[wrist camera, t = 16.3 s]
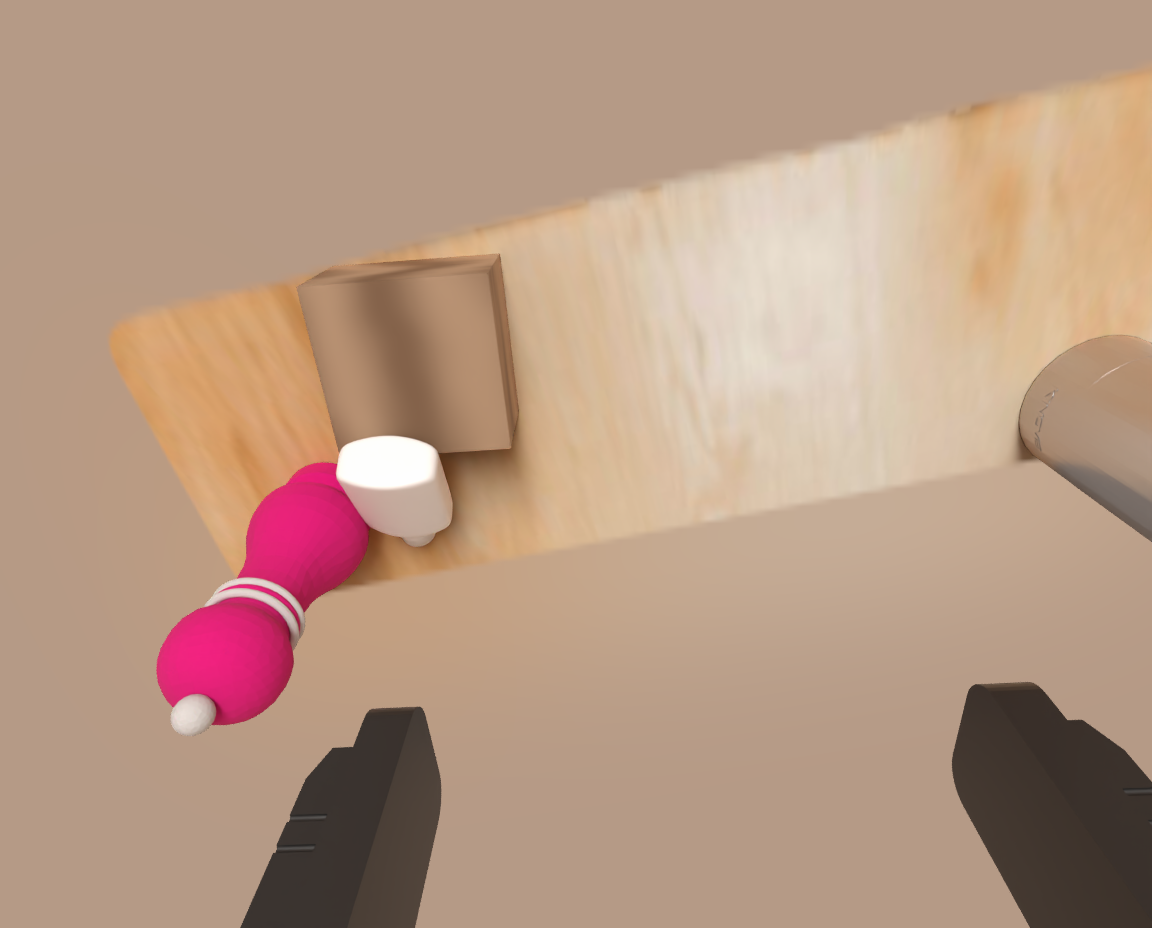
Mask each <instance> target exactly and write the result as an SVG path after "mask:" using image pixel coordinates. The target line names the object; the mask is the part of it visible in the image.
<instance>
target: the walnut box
mask: <svg viewBox="0 0 1152 928" xmlns="http://www.w3.org/2000/svg"><path fill="white" fill-rule="evenodd" d="M296 288H297V292H298V295H299V299H300V303H301V307H302V311H303V315H304V319H305V323H306V326H307V330H308V334H309V338H310V342H311V346H312V350H313V354H314V357H315V361H316V365H317V369H318V373H319V377H320V381H321V385H322V388H323V392H324V396H325V400H326V404H327V408H328V412H329V416H330V419H331V423H332V427H333V431H334V435H335V439H336V443H337V446H338V450H339V454H340V451H341V449H342V448H343V447H344V446H345V445H346V444H349V443H351V442H354V441H357V440H361V439H365V438H369V437H376V436H401V437H407V438H412V439H416V440H419V441H422V442H425V443H427V444H429V445H431V446H433V447H434V448H435V449H436V450H437V452H438V453H451V452H466V451H482V450H497V449H511V445H512V441H513V436H514V431H515V426H516V422H517V417H518V412H519V409H518V400H517V392H516V384H515V376H514V367H513V359H512V351H511V342H510V334H509V326H508V318H507V309H506V301H505V293H504V284H503V276H502V268H501V260H500V254H488V255H475V256H462V257H449V258H436V259H422V260H409V261H396V262H383V263H370V264H357V265H344V266H341V265H334V266H332V267H331V268H329V269H327V270H325V271H324V272H322V273H320V274H318V275H317V276H315V277H313V278H312V279H310V280H308V281H306V282H305V283H303V284H301V285H299V286H298V287H296Z"/></svg>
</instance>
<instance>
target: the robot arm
mask: <svg viewBox="0 0 1152 928" xmlns="http://www.w3.org/2000/svg"><path fill="white" fill-rule="evenodd" d="M1019 424H1020V433H1021V437H1022V439H1023V441H1024V444H1025V446H1026V447H1027V448H1028V450H1029V451H1030V452H1031V453H1032V454H1033V455H1034V456H1035V457H1037V458H1038V459H1039V460H1041V461H1042V462H1044V463H1045V464H1046V465H1048V466H1049V467H1050V468H1052V469H1053V470H1054V471H1056V472H1057V473H1058V474H1060V475H1061V476H1062V477H1064V478H1065V479H1067V480H1068V481H1069V482H1071V483H1072V484H1073V485H1074V486H1076V487H1077V488H1078V489H1080V490H1081V491H1082V492H1084V493H1085V494H1087V495H1088V496H1089V497H1091V498H1092V499H1094V500H1095V501H1096V502H1098V503H1099V504H1100V505H1102V506H1103V507H1104V508H1106V509H1107V510H1109V511H1110V512H1111V513H1113V514H1114V515H1115V516H1117V517H1118V518H1120V519H1121V520H1122V521H1124V522H1125V523H1126V524H1128V525H1129V526H1131V527H1132V528H1133V529H1135V530H1136V531H1137V532H1139V533H1140V534H1141V535H1143V536H1144V537H1146V538H1147V539H1149V540H1150V541H1151V542H1152V343H1150V342H1147V341H1145V340H1142V339H1140V338H1137V337H1131V336H1125V335H1117V336H1105V337H1101V338H1096V339H1092V340H1089V341H1087V342H1084V343H1082V344H1080V345H1077V346H1075V347H1073V348H1071V349H1070V350H1068V351H1067V352H1065V353H1063V354H1062V355H1060V356H1059V357H1057V358H1056V359H1055V360H1054V361H1053V362H1052V363H1051V364H1049V365H1048V366H1047V367H1046V368H1045V369H1044V370H1043V371H1042V372H1041V374H1040V375H1039V376H1038V377H1037V378H1036V380H1035V381H1034V382H1033V384H1032V386H1031V387H1030V389H1029V391H1028V392H1027V394H1026V396H1025V399H1024V402H1023V405H1022V407H1021V413H1020V420H1019ZM952 771H953V778H954V782H955V786H956V789H957V792H958V795H959V797H960V800H961V802H962V804H963V806H964V808H965V810H966V811H967V813H968V815H969V817H970V819H971V821H972V822H973V824H974V826H975V828H976V830H977V832H978V834H979V835H980V837H981V839H982V841H983V843H984V845H985V846H986V848H987V850H988V852H989V854H990V855H991V857H992V859H993V861H994V863H995V865H996V866H997V868H998V870H999V872H1000V873H1001V875H1002V877H1003V879H1004V881H1005V883H1006V885H1007V886H1008V888H1009V890H1010V892H1011V894H1012V896H1013V897H1014V899H1015V901H1016V903H1017V905H1018V907H1019V908H1020V910H1021V912H1022V914H1023V916H1024V917H1025V919H1026V921H1027V923H1028V925H1029V926H1030V928H1152V782H1151V781H1150V779H1149V778H1148V777H1147V776H1146V775H1145V774H1144V772H1143V771H1142V770H1141V769H1140V768H1139V767H1138V765H1137V764H1136V763H1135V762H1134V761H1133V760H1132V758H1131V757H1130V756H1129V755H1128V754H1127V753H1126V751H1125V750H1123V749H1122V748H1121V747H1119V746H1118V745H1116V744H1115V743H1114V742H1112V741H1111V740H1110V739H1108V738H1107V737H1105V736H1104V735H1103V734H1101V733H1100V732H1098V731H1097V730H1096V729H1094V728H1093V727H1092V726H1090V725H1089V724H1087V723H1086V722H1085V721H1083V720H1067V719H1066V718H1065V717H1064V716H1063V714H1062V713H1061V712H1060V711H1059V709H1058V708H1057V707H1056V706H1055V704H1054V703H1053V702H1052V701H1051V700H1050V698H1049V697H1048V696H1047V695H1046V693H1045V692H1044V691H1043V690H1042V689H1041V688H1040V687H1039V686H1037V685H1035V684H1034V683H1031V682H1021V683H999V684H975V685H973V686H972V687H971V688H970V689H969V691H968V694H967V698H966V703H965V706H964V711H963V715H962V719H961V723H960V728H959V732H958V735H957V740H956V744H955V749H954V752H953V758H952ZM440 806H441V780H440V774H439V769H438V765H437V761H436V757H435V753H434V749H433V745H432V740H431V736H430V733H429V729H428V724H427V721H426V716H425V713H424V711H423V709H422V708H421V707H402V708H379V709H371V710H369V712H368V713H367V714H366V716H365V718H364V720H363V723H362V726H361V728H360V731H359V733H358V736H357V739H356V741H355V744H354V746H353V747H344V748H332V750H331V751H330V752H329V753H328V754H327V755H326V756H325V758H324V759H323V760H322V761H321V762H320V763H319V764H318V766H317V767H316V768H315V769H314V770H313V771H312V772H311V774H310V775H309V776H308V777H307V778H306V780H305V782H304V784H303V786H302V789H301V791H300V793H299V795H298V798H297V800H296V802H295V805H294V807H293V809H292V811H291V814H290V821H289V822H287V823H286V825H285V828H284V830H283V832H282V834H281V836H280V839H279V841H278V843H277V850H276V853H273V855H272V857H271V859H270V861H269V864H268V866H267V868H266V871H265V873H264V875H263V878H262V880H261V882H260V884H259V887H258V889H257V891H256V894H255V896H254V898H253V900H252V902H251V905H250V907H249V909H248V912H247V914H246V916H245V918H244V921H243V923H242V925H241V928H415V925H416V920H417V916H418V910H419V907H420V902H421V897H422V893H423V888H424V883H425V879H426V874H427V870H428V866H429V861H430V857H431V852H432V848H433V842H434V838H435V834H436V830H437V825H438V820H439V815H440Z"/></svg>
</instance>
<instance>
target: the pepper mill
mask: <svg viewBox="0 0 1152 928" xmlns="http://www.w3.org/2000/svg"><path fill="white" fill-rule="evenodd" d="M336 470H337V464H334V463H314V464H311V465H308V466H305V467H304V468H302V469H300V470H298V471H297V472H296V473H295V474H294V475H293V476H292V478H291V479H290V480H289V481H288V483H287V484H286V485H285V486H282V487H280V488H278V489H276V490H274V491H273V492H271V493H270V494H269V495H268V496H266V497H265V498H264V500H263V501H262V502H261V503H260V505H259V506H258V508H257V509H256V511H255V512H254V514H253V516H252V518H251V520H250V524H249V528H248V531H247V537H246V560H245V564H244V567H243V568H242V570H241V572H240V574H239V575H238V577H237V579H234V580H231V581H228V582H226V583H224V584H223V585H222V586H220V587H219V588H218V589H217V590H216V591H215V592H214V594H213V596H212V598H210V599H209V600H208V602H207V603H206V604H205V606H204V607H203V608H200V609H197V610H195V611H194V612H192V613H191V614H189V615H187V616H186V617H184V618H182V620H181V621H180V622H179V623H178V624H177V625H176V626H175V627H174V628H173V629H172V630H171V632H170V633H169V635H168V636H167V638H166V640H165V642H164V643H163V645H162V647H161V649H160V652H159V656H158V659H157V679H158V684H159V686H160V689H161V691H162V693H163V695H164V697H165V698H166V700H167V701H168V702H169V703H170V704H171V706H172V707H174V708H173V711H172V713H171V724H172V726H173V728H174V729H175V730H176V731H177V732H178V733H180V734H182V735H186V736H195V735H197V734H201V733H202V732H204V731H205V730H207V729H208V728H209V727H210V726H211V725H229V724H235V723H239V722H244V721H247V720H249V719H251V718H253V717H255V716H257V715H258V714H260V713H262V712H263V711H264V710H266V709H267V708H268V707H269V706H270V705H272V704H273V703H274V702H275V701H276V699H277V698H278V696H279V695H280V694H281V692H282V691H283V690H284V688H285V687H286V685H287V683H288V681H289V678H290V676H291V672H292V668H293V664H294V658H293V650H294V649H295V647H296V645H297V642H298V640H299V639H300V638H301V636H302V634H303V632H304V628H305V616H304V612H305V611H306V610H307V608H308V607H309V605H310V604H311V603H312V602H313V601H314V600H315V599H316V598H318V597H319V596H321V595H323V594H324V593H326V592H328V591H330V590H332V589H334V588H335V587H337V586H338V585H340V584H341V583H342V582H344V581H345V580H346V579H347V578H348V577H349V576H350V575H351V574H352V573H353V572H354V571H355V570H356V568H357V567H358V565H359V564H360V562H361V561H362V559H363V557H364V555H365V553H366V550H367V546H368V531H369V529H370V526H369V525H368V524H367V523H366V522H365V521H364V520H363V518H362V517H361V515H360V514H359V512H358V511H357V509H356V508H355V506H354V505H353V503H352V502H351V500H350V499H349V497H348V496H347V494H346V492H345V491H344V489H343V488H342V486H341V485H340V483H339V482H338V480H337V477H336Z"/></svg>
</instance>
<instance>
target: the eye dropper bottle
mask: <svg viewBox="0 0 1152 928" xmlns="http://www.w3.org/2000/svg"><path fill="white" fill-rule="evenodd" d="M336 477H337V480H338V482H339V483H340V485H341V486H342V488H343V489H344V491H345V492H346V494H347V496H348V497H349V499H350V500H351V502H352V503H353V505H354V506H355V508H356V509H357V511H358V512H359V514H360V515H361V517H362V518H363V520H364V521H365V522H366V523H367V524H368V525H369V526H370V527H371V528H373V529H375V530H377V531H379V532H382V533H385V534H388V535H392V536H396V537H402V538H403V540H404V541H405V542H406V543H407V544H408V545H411V546H414V547H419V546H420V547H421V546H424V545H426V544H428V543H429V542H430V541H432V540H433V538H434V535H435V533H436V532H439V531H441V530H443V529H445V528H446V527H448V526H449V525H450V522H451V519H452V510H453V501H452V498H451V494H450V490H449V487H448V483H447V480H446V477H445V474H444V470H443V467H442V464H441V461H440V458H439V455H438V452H437V450H436V449H435V448H434V447H433V446H431V445H429V444H427V443H425V442H422V441H419V440H416V439H412V438H407V437H401V436H376V437H369V438H365V439H361V440H357V441H354V442H351V443H349V444H346V445H345V446H344V447H343V448H342V449H341V451H340V454H339V458H338V464H337V470H336Z"/></svg>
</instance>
